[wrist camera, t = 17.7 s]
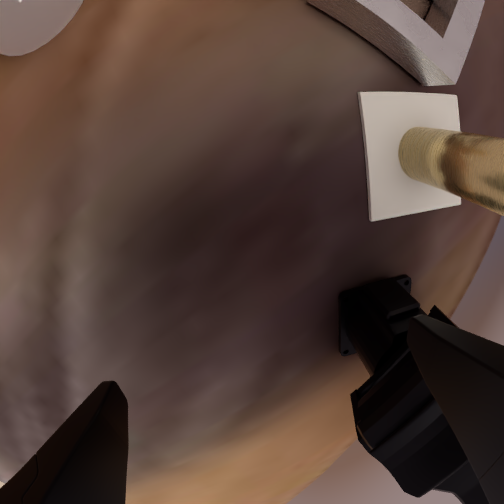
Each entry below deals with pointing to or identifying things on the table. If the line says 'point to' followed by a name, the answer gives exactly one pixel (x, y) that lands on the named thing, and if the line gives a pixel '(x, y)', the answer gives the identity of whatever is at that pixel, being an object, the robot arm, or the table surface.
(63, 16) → the base with upright slab
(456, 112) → the white flat square block
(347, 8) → the square frame with handle
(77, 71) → the table surface
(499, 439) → the robot arm
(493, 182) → the brown mottled cylinder
